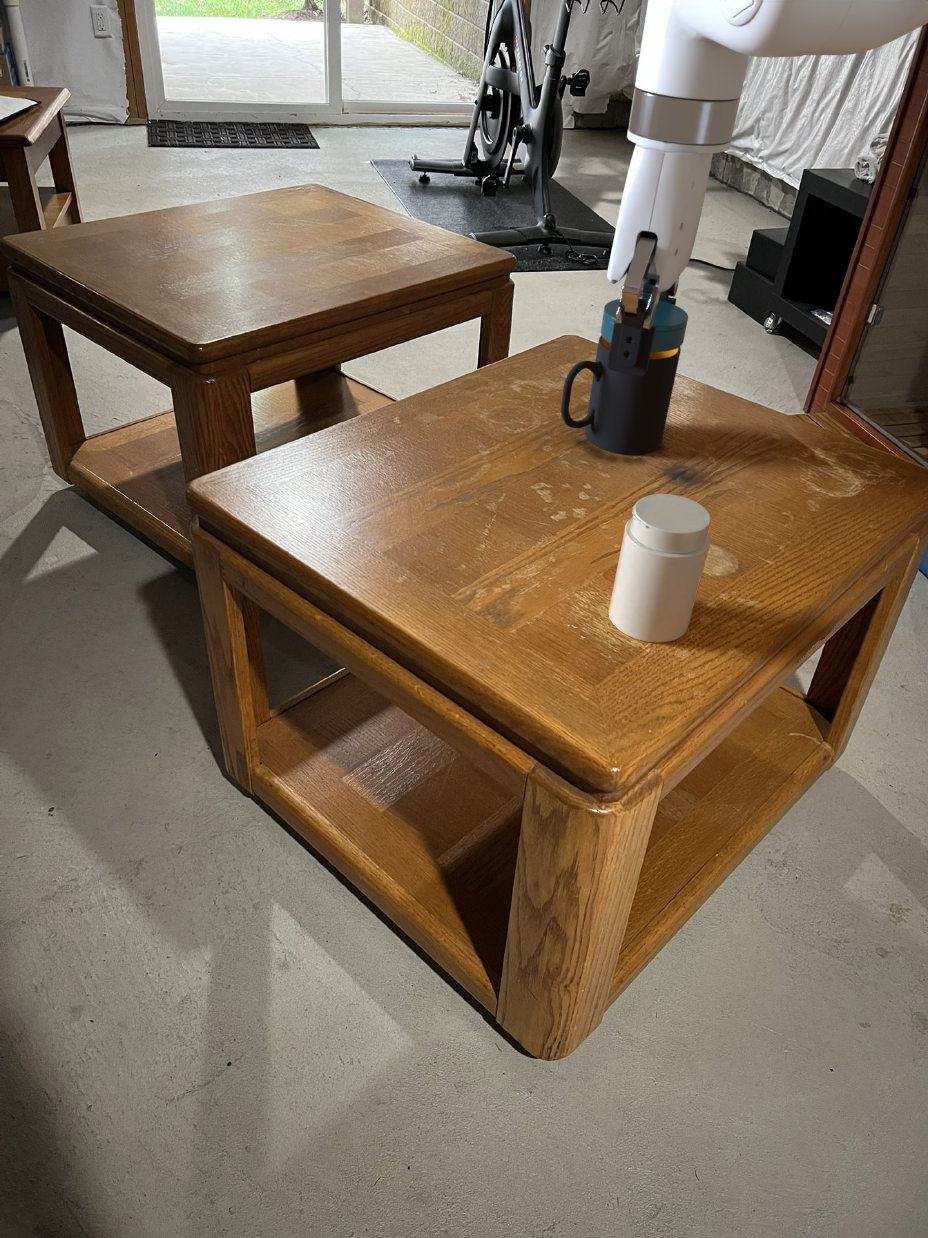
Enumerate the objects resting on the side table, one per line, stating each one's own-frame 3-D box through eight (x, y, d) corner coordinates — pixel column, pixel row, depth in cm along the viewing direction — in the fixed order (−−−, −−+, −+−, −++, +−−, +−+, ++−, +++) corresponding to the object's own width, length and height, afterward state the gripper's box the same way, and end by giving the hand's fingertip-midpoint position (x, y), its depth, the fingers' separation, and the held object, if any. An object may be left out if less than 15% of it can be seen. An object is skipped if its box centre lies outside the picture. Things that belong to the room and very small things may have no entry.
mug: (541, 426, 101) (552, 333, 95) (639, 416, 105) (656, 325, 98) (572, 462, 95) (587, 365, 89) (675, 450, 99) (696, 356, 92)
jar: (651, 586, 78) (675, 483, 72) (705, 628, 74) (734, 522, 68) (592, 607, 75) (611, 502, 69) (644, 652, 71) (669, 544, 65)
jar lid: (587, 340, 76) (590, 314, 75) (616, 316, 81) (620, 291, 80) (668, 359, 74) (673, 333, 73) (693, 333, 79) (698, 308, 78)
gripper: (658, 97, 75) (621, 316, 86) (599, 131, 62) (564, 383, 73) (752, 110, 73) (701, 332, 84) (710, 148, 60) (657, 404, 71)
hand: (638, 354), depth 79 cm, fingers closed on jar lid, 6 cm apart
